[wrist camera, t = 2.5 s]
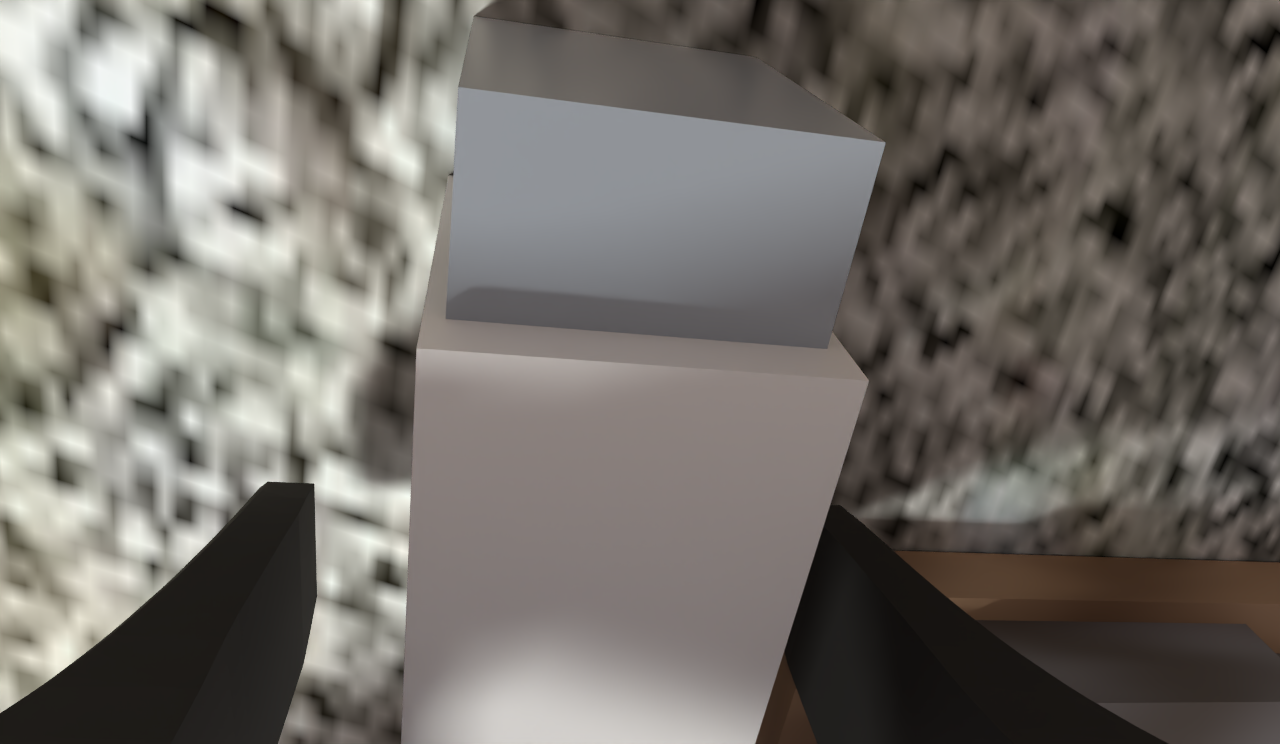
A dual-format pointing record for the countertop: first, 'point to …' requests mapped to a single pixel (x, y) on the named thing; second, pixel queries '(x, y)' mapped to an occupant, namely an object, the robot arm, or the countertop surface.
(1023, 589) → the cradle jig
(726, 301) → the white pillar grey cap
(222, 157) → the countertop surface
